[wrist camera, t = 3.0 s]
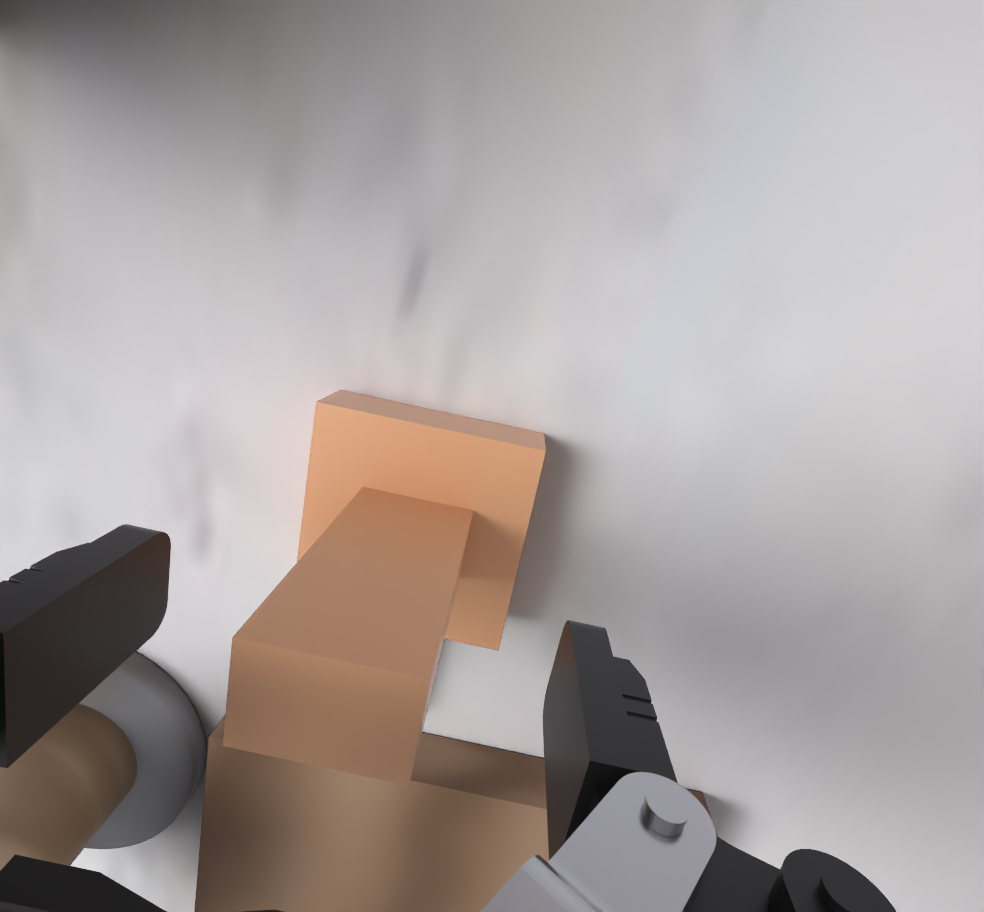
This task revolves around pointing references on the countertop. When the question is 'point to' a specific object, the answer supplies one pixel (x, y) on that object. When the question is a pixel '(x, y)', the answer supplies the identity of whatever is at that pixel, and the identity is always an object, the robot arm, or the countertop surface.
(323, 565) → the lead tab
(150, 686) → the bobbin
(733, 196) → the countertop surface
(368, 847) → the brown flat u-shaped block
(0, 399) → the countertop surface
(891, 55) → the countertop surface
